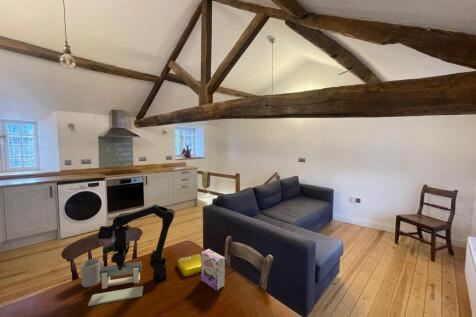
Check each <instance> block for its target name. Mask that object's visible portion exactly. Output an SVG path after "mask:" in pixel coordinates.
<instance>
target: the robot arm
mask: <svg viewBox="0 0 476 317" xmlns="http://www.w3.org/2000/svg"><path fill="white" fill-rule="evenodd" d="M150 215H155V216H157V217H158V218H159V219H161V220H162V221H161V222H162V228H161V230H160V235H159V238H158V241H157V246H156V248H155V249H152V252H151V255H150V258H149V266H150V267H151V268H152V269H153V272H152V274H153V276H152V280H153V283H161V282H165V281H167V279H168V278H167V276H168V275H167V274H168V273H167V261H168V260H167V259H166V258H165V257H164V247H165V244H166V239H167V236H168V232H169V230H170V227H171V225H172V223H173V220H174V218H175V216H176V212H175V210H174V209H172V208H167V207H164V206H162V205H161V206H160V205H158V204H152V205H150V206H148V207H145V208H141V209H139V210H136V211H131V212H124V213H120V214H118V215H117V216H116V217H115V218H113V221H112V224H111V225H101V226H100V227H99V230H98V234H97V239H98V240H112V239H113V237H114V242H110V243H108V244H106V245H104V246H103V248H102V254H104V255H108V254H110V253H112V252H113V254H112V255H111V260H110V261H111V263H115V265H117V267H118V269H119V271H120V270H122V267H123V264H125V261H126V259H127V254H128V252H129V250H130V247H131V241H129V240H128V232H127V231H129V230H130V229H131V226H130V225H129V223H131V222H132V221H135V220H138V219H141V218H144V217H148V216H150Z"/></svg>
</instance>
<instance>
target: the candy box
mask: <svg viewBox="0 0 476 317" xmlns="http://www.w3.org/2000/svg"><path fill="white" fill-rule="evenodd" d="M200 255H201V273H200V280H201V282H203V283H204V282H205V283H204V284H206V285H207V284H208V285H209V286H208V285H207V286H208V287H210V286H211V287H212V288H211V287H210V288H211V289H213V288H214V289H215V290H218V289H220V288H221V287H223V286H224V287H225V279H226V278H225V277H226V276H225V275H226V274H225V273H226V272H225V270H226V269H225V267H226V257H225V256H223V255H221V254H219V253H217V252H215V251H213V250H212V249H210V248H208V249H207V248H206V250H203V251H201V252H200ZM214 289H213V290H214ZM215 290H214V291H215ZM220 290H221V289H220ZM218 291H219V290H218Z"/></svg>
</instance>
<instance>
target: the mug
mask: <svg viewBox="0 0 476 317" xmlns="http://www.w3.org/2000/svg"><path fill="white" fill-rule="evenodd" d="M101 267H103V262H102V260H101V259H98V258H91V259H88V260H85V261H83V262H82V263H81V264H80V268H81V269H80V273H81V274H80V275H81V276H80V277H81V286H82V287H83V288H90V287H93V286H96V285H97V284H99V283H100V281H101V278H100V272H99V271H100V269H101Z"/></svg>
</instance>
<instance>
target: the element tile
mask: <svg viewBox="0 0 476 317" xmlns="http://www.w3.org/2000/svg"><path fill="white" fill-rule="evenodd" d="M177 268H178V269H179V271H180V273H181V274H182V276H183V277H185V278H186V276H187V277H190V275H191V276H193V274H194V275H196V274H195V273H197V274H199V273H198V272H201V253H196V254H192V255H188V256H185V257H180V258H178V259H177Z"/></svg>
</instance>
